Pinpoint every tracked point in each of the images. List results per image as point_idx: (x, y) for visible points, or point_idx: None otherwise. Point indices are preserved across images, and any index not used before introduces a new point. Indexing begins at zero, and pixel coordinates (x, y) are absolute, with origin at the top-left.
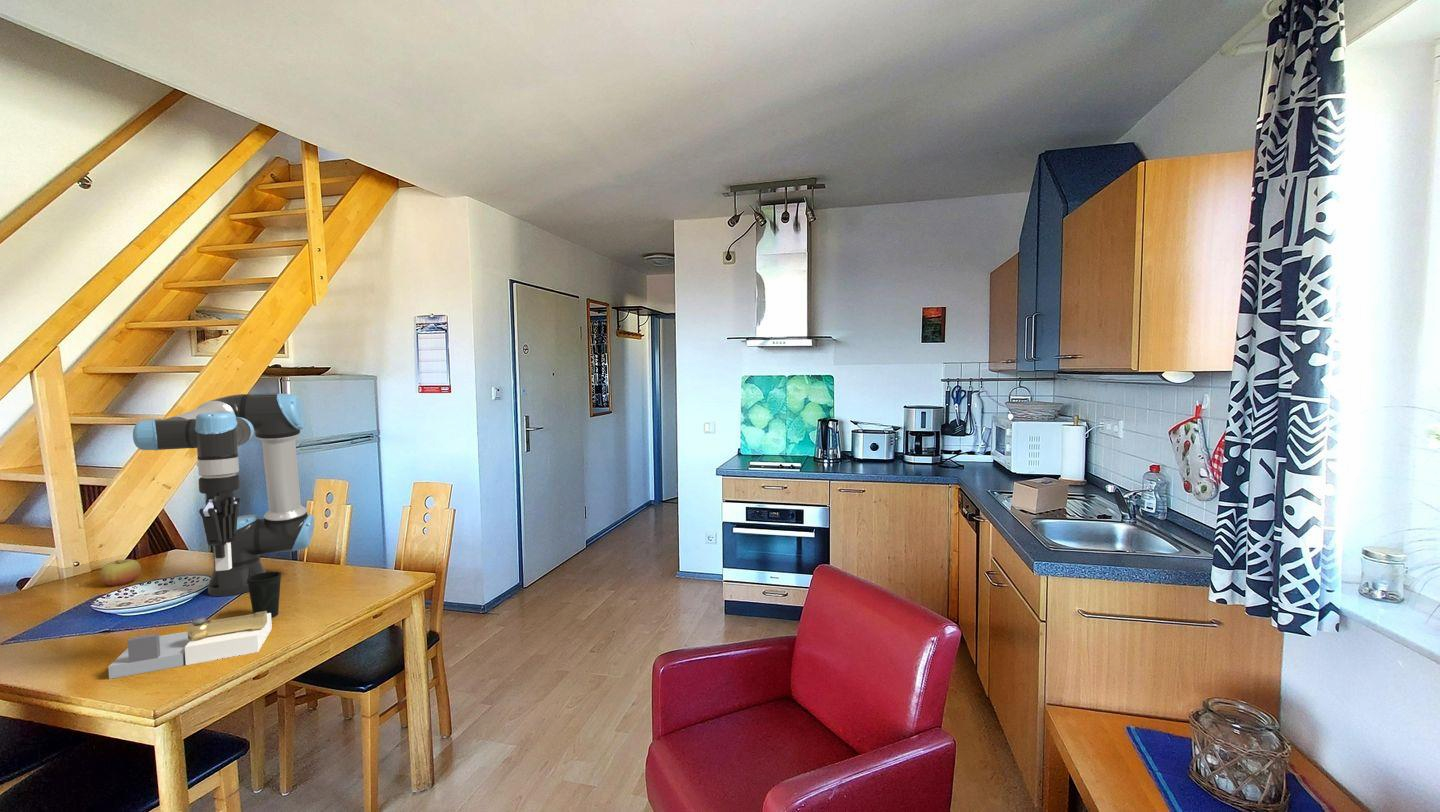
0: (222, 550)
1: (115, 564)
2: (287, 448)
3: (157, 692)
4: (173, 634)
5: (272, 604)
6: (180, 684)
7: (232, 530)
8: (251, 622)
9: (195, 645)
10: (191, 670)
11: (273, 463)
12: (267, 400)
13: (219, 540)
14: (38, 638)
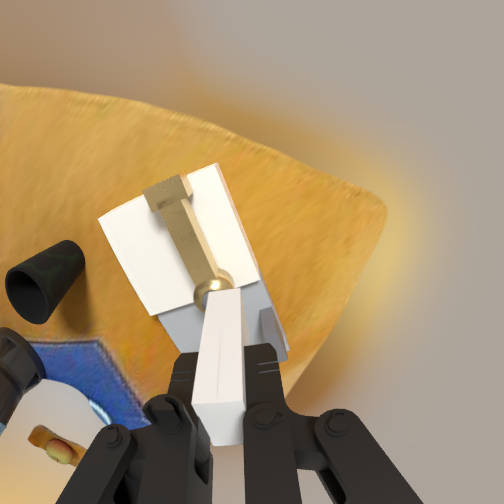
0: (274, 378)
1: (60, 460)
2: None
3: (347, 240)
4: (178, 342)
5: (60, 250)
6: (328, 223)
7: (118, 477)
8: (184, 199)
9: (254, 265)
10: (279, 240)
11: None
12: None
13: (367, 433)
14: None
